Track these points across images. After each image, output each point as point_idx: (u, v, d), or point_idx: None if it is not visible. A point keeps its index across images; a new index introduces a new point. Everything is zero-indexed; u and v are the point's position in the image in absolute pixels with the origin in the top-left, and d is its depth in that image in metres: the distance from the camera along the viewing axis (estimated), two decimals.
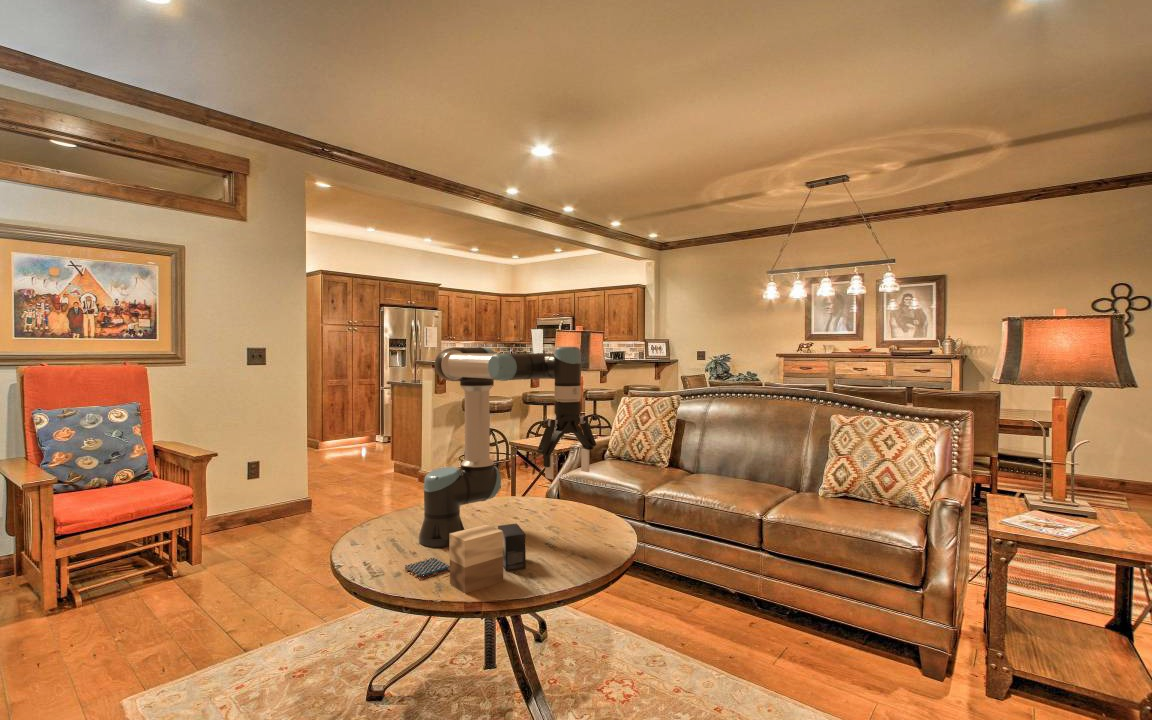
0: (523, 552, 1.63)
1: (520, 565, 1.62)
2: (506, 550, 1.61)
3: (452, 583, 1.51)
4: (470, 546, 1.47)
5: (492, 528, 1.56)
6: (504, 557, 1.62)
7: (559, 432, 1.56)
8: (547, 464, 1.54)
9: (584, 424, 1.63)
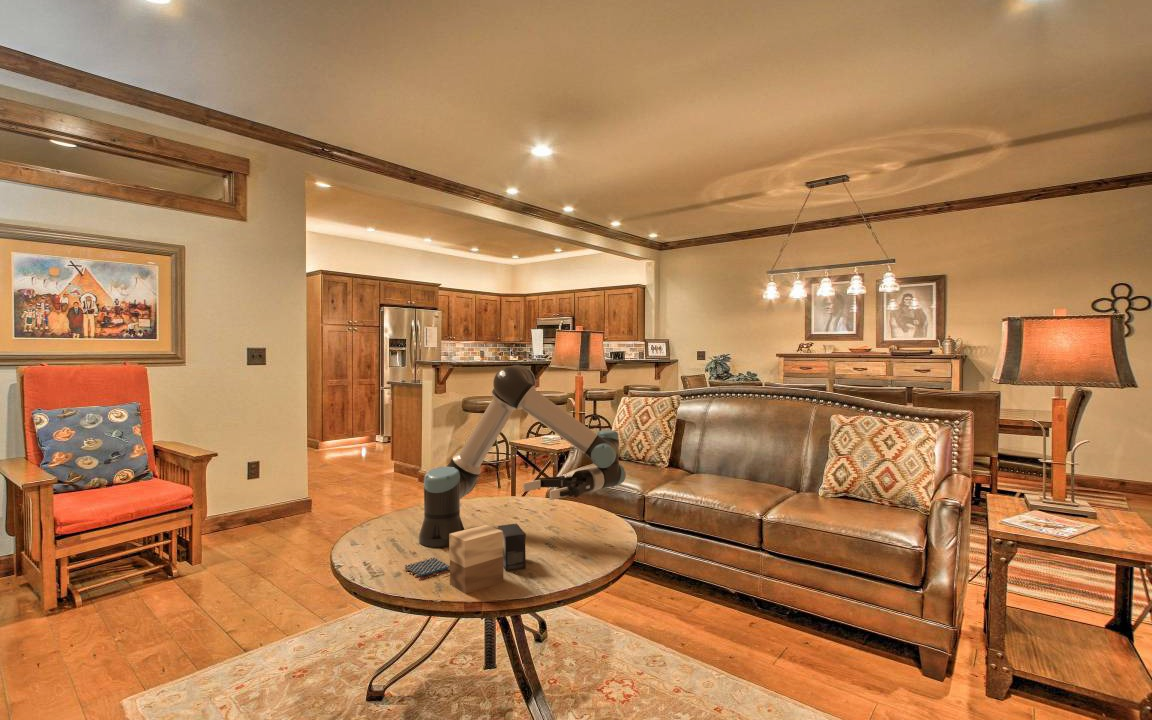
0: (523, 552, 1.63)
1: (520, 565, 1.62)
2: (506, 550, 1.61)
3: (452, 583, 1.51)
4: (470, 546, 1.47)
5: (492, 528, 1.56)
6: (504, 557, 1.62)
7: None
8: None
9: None
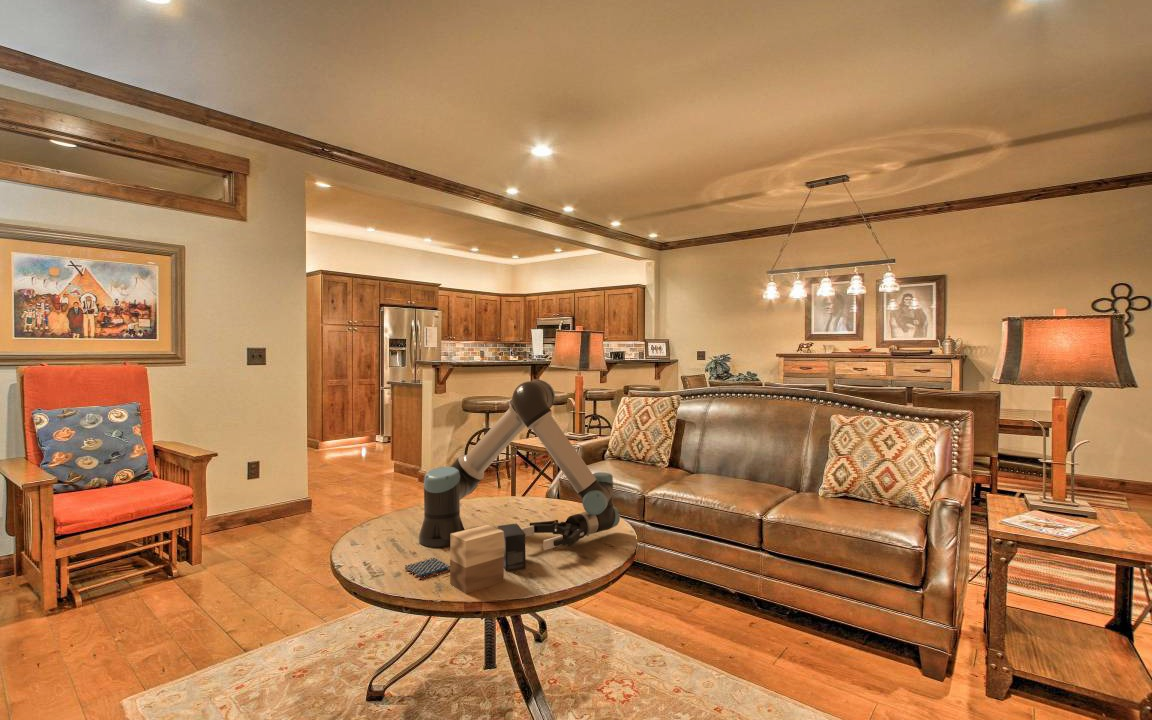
0: (523, 552, 1.63)
1: (520, 565, 1.62)
2: (506, 550, 1.61)
3: (452, 583, 1.51)
4: (471, 547, 1.47)
5: (493, 528, 1.56)
6: (504, 557, 1.62)
7: None
8: None
9: None
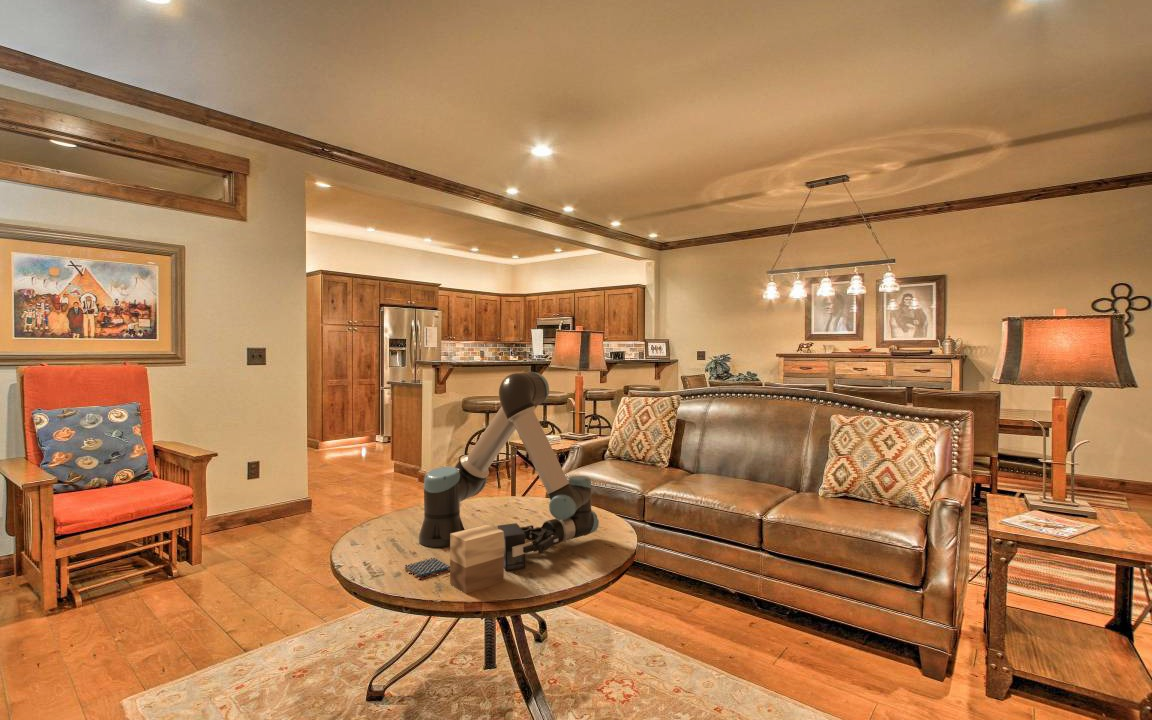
0: None
1: (519, 565, 1.62)
2: (505, 550, 1.61)
3: (452, 583, 1.51)
4: (470, 546, 1.47)
5: (493, 528, 1.56)
6: (504, 557, 1.62)
7: None
8: None
9: None
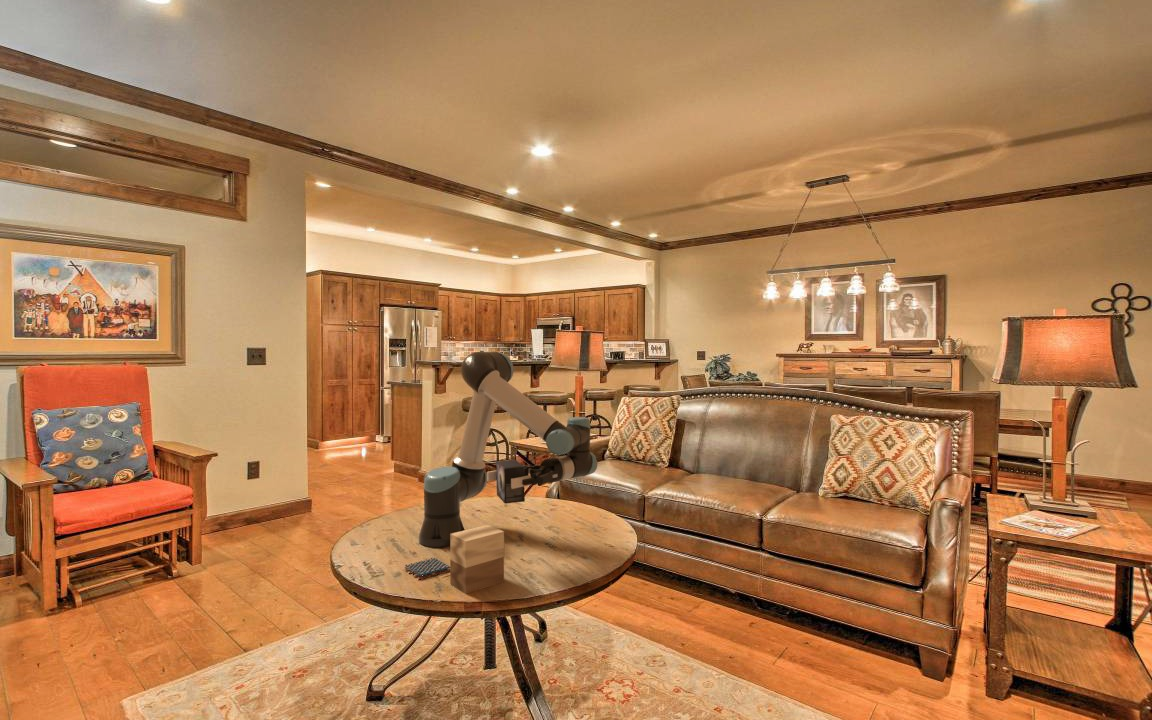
0: None
1: (518, 498, 1.61)
2: (504, 482, 1.59)
3: (452, 583, 1.51)
4: (470, 547, 1.47)
5: (493, 528, 1.56)
6: (503, 489, 1.60)
7: None
8: None
9: None
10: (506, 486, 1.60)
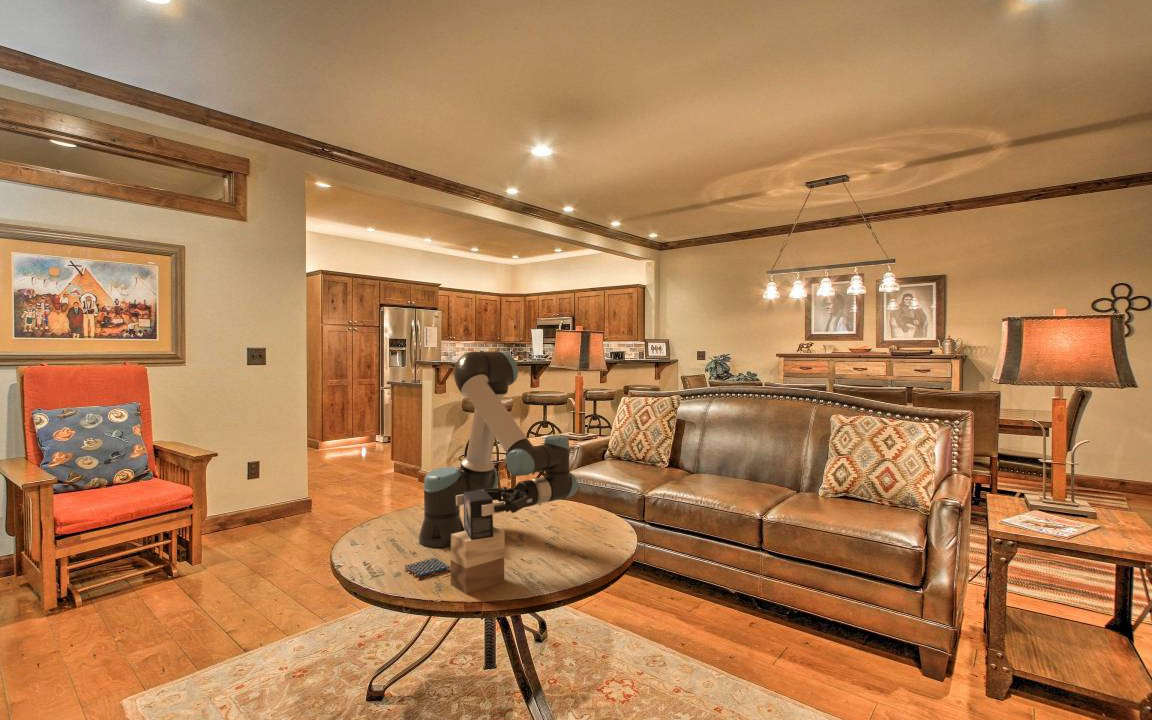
0: (490, 519, 1.48)
1: (486, 533, 1.48)
2: (471, 516, 1.47)
3: (452, 583, 1.51)
4: (471, 547, 1.47)
5: (494, 529, 1.56)
6: (469, 524, 1.47)
7: None
8: None
9: None
10: (473, 521, 1.47)
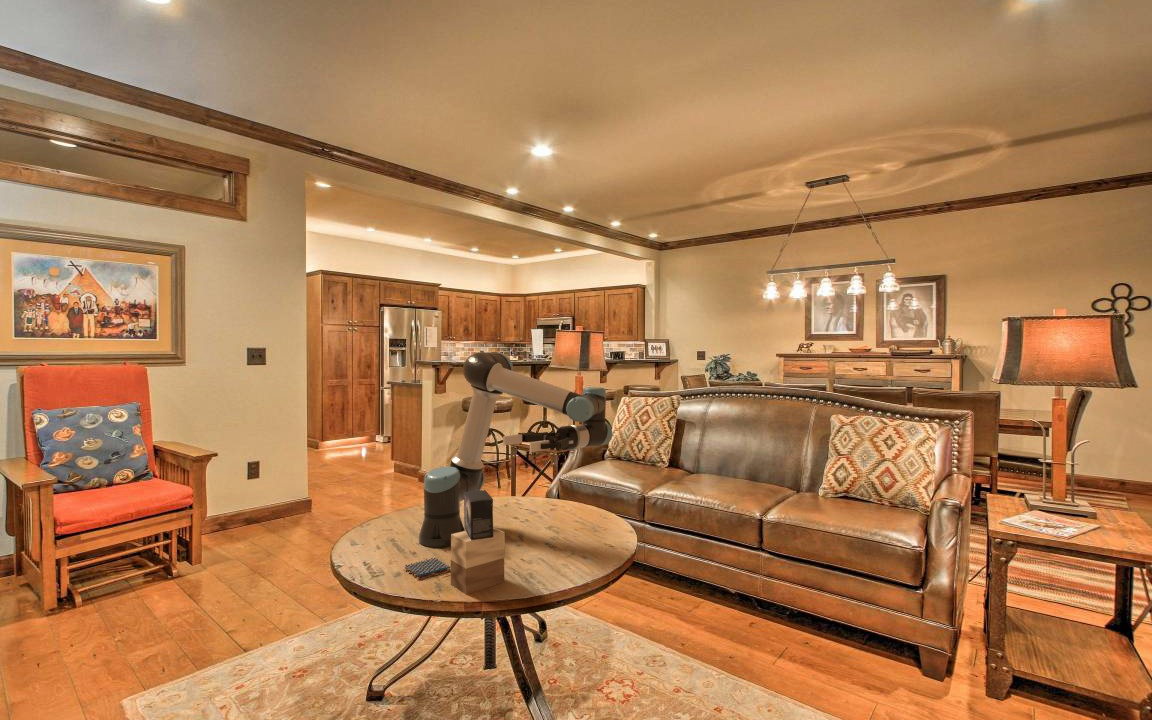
0: (490, 519, 1.48)
1: (486, 533, 1.48)
2: (471, 516, 1.46)
3: (452, 583, 1.51)
4: (471, 547, 1.46)
5: (494, 529, 1.55)
6: (469, 525, 1.47)
7: None
8: (544, 448, 1.61)
9: None
10: (473, 521, 1.47)
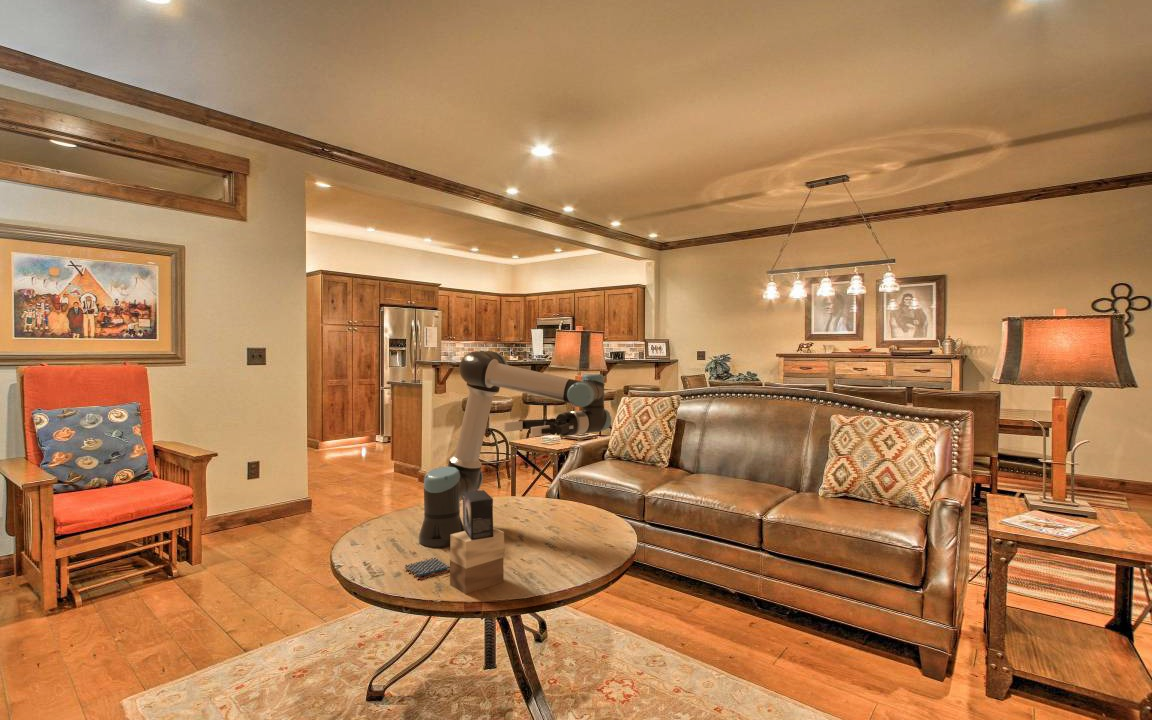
0: (490, 519, 1.49)
1: (487, 533, 1.48)
2: (471, 516, 1.46)
3: (452, 583, 1.51)
4: (471, 547, 1.46)
5: (493, 529, 1.56)
6: (469, 525, 1.47)
7: None
8: None
9: None
10: (473, 521, 1.47)
